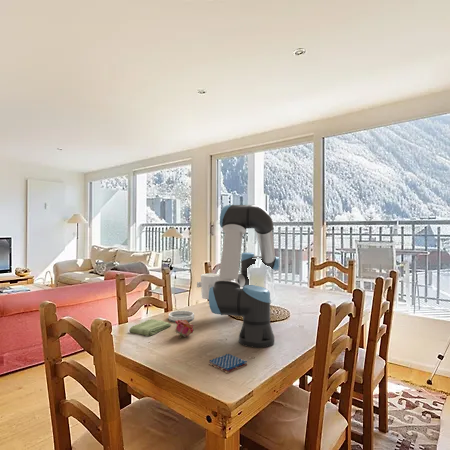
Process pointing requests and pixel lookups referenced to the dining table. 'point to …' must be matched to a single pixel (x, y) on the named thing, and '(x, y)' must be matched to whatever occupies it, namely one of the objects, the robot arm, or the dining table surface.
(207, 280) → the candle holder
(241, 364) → the woven mat
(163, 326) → the washcloth
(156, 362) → the dining table surface
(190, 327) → the flower
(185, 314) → the grey round dish
